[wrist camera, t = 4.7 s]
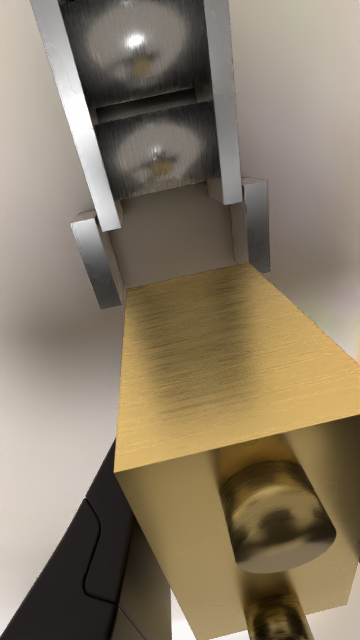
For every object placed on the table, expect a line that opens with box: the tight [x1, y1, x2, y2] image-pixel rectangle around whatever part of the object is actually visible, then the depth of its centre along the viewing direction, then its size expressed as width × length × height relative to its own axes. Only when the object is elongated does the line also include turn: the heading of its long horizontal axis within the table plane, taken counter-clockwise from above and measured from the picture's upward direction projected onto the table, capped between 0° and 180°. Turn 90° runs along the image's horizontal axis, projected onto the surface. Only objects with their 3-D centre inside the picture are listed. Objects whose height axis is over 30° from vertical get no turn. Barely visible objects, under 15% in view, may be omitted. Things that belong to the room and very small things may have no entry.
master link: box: [114, 262, 360, 640], centre depth 7 cm, size 6×4×6 cm, turn 11°
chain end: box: [30, 0, 270, 309], centre depth 9 cm, size 11×7×2 cm, turn 11°
